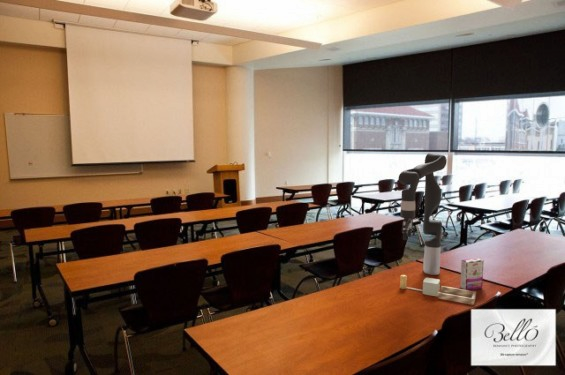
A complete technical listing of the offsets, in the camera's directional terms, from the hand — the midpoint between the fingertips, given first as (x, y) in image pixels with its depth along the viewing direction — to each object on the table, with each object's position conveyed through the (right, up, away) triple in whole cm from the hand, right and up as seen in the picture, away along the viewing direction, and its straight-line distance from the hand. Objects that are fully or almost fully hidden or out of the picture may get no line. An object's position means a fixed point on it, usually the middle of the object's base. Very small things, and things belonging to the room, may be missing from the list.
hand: (406, 238), depth 221 cm
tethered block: (+8, -30, +5) cm, 31 cm away
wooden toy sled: (+24, -31, -5) cm, 40 cm away
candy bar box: (+38, -29, +8) cm, 49 cm away
